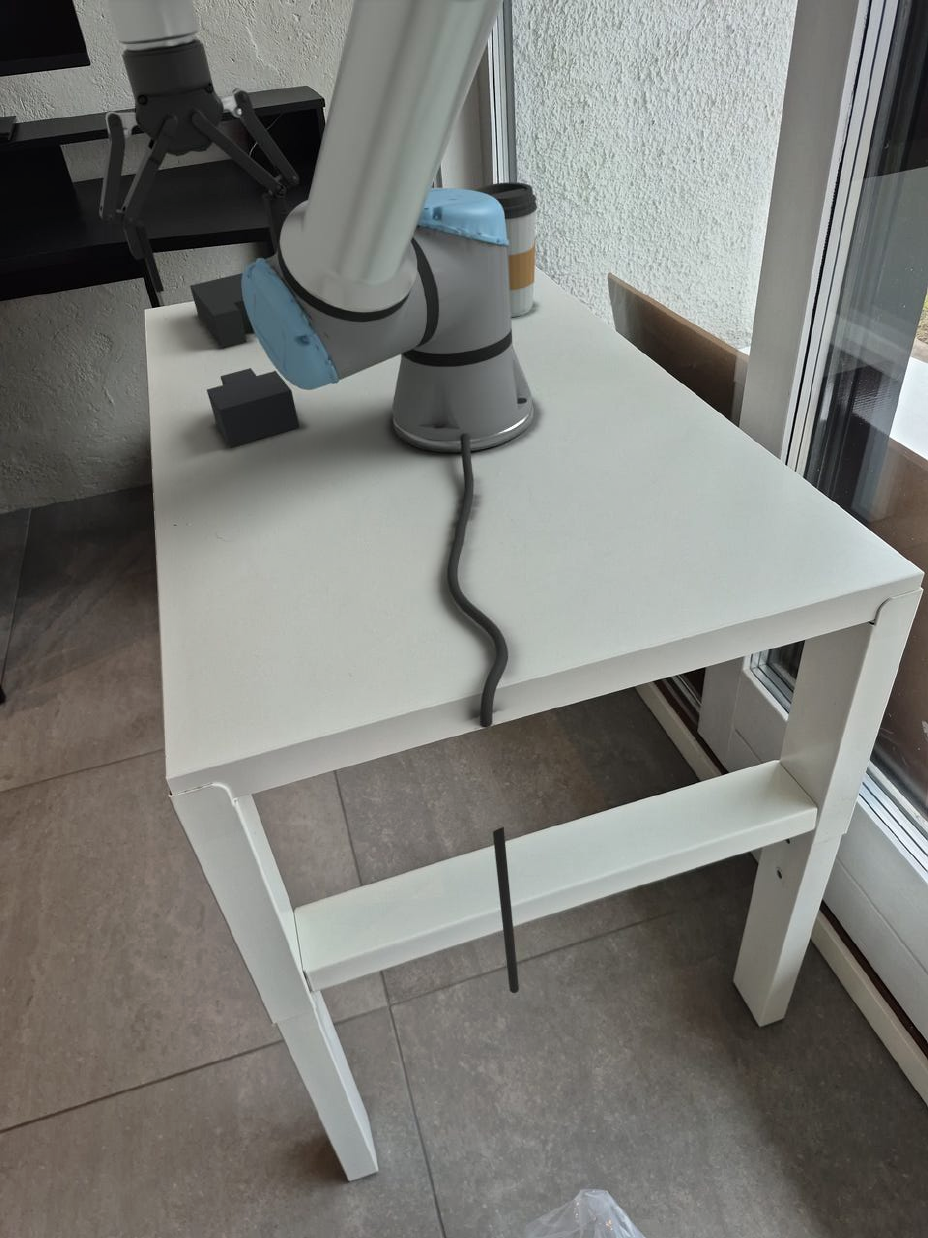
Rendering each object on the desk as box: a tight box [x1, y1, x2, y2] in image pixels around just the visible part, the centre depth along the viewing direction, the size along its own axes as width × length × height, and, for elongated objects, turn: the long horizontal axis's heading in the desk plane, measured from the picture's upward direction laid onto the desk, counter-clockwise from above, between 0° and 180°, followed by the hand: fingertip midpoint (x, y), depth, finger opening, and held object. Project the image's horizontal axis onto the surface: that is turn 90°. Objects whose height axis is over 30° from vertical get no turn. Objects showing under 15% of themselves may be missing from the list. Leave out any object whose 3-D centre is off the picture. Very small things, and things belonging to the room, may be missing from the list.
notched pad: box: [189, 272, 255, 349], centre depth 125 cm, size 14×12×4 cm
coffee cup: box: [475, 181, 538, 318], centre depth 117 cm, size 8×8×15 cm
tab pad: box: [206, 368, 300, 448], centre depth 101 cm, size 9×8×4 cm
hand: (221, 274), depth 97 cm, fingers open, 13 cm apart
